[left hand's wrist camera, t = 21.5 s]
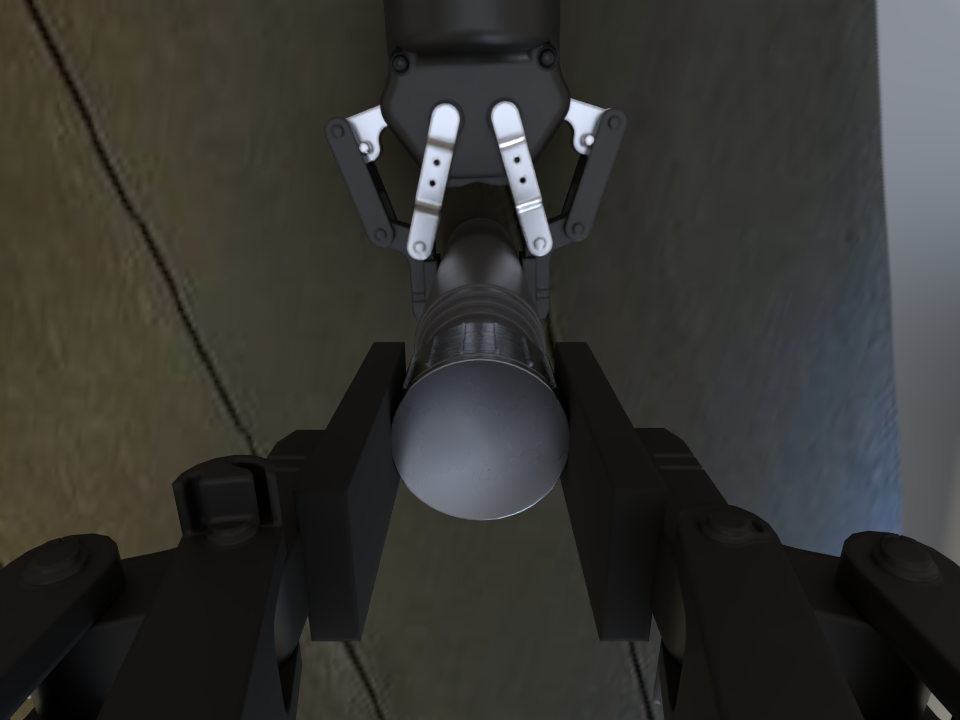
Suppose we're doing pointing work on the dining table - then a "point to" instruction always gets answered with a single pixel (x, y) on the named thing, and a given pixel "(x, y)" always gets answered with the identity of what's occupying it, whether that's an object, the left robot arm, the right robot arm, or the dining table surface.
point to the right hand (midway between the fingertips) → (482, 326)
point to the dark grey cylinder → (480, 285)
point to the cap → (480, 423)
